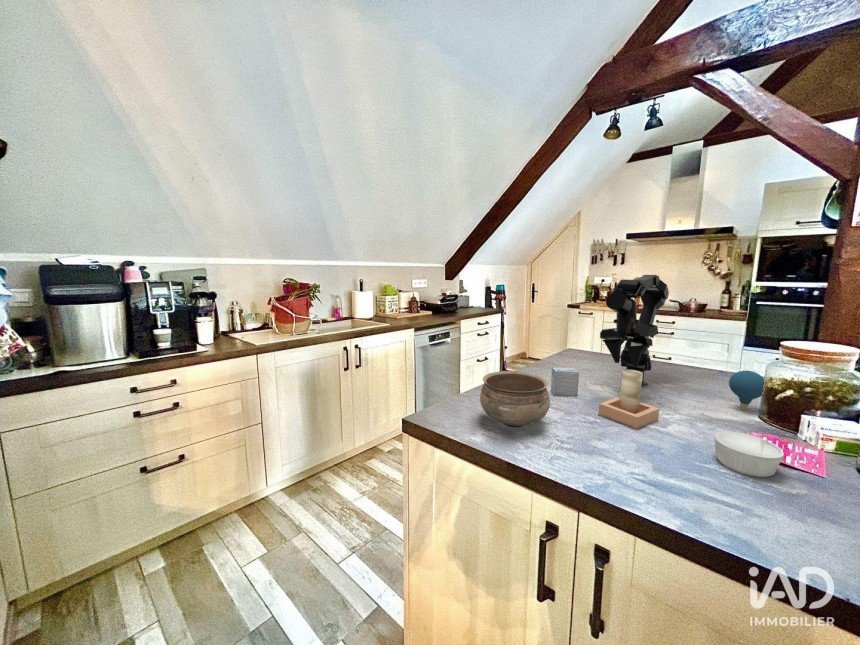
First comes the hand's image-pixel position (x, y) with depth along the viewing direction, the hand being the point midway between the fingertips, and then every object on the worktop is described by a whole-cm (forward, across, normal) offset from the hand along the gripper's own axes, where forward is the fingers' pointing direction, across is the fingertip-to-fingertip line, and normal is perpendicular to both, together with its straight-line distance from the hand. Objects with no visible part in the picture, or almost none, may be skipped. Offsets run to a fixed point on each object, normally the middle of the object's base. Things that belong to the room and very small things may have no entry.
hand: (626, 364), depth 110 cm
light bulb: (+10, +28, -18) cm, 35 cm away
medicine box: (+11, -9, +17) cm, 22 cm away
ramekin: (+24, -6, -31) cm, 39 cm away
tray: (+16, -7, -5) cm, 18 cm away
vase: (+16, -7, -5) cm, 18 cm away
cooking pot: (+21, -37, +9) cm, 43 cm away
